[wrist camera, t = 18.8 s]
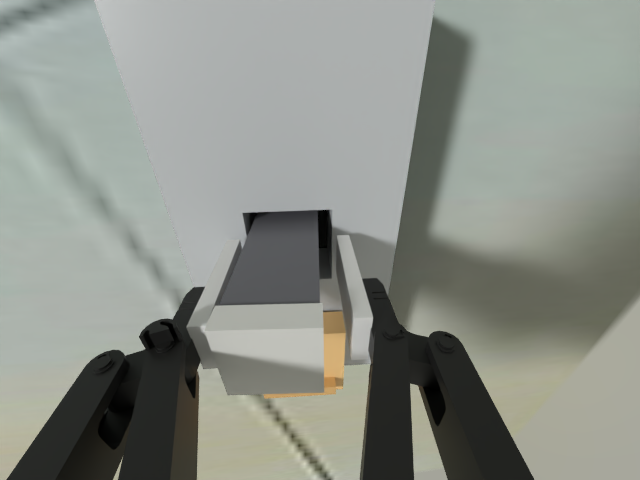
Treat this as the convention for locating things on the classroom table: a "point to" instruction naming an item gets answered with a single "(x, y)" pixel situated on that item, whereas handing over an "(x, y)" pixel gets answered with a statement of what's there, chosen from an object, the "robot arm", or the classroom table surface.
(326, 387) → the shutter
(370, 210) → the socket board
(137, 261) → the classroom table surface
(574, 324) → the classroom table surface
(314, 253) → the plug
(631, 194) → the classroom table surface
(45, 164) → the classroom table surface
